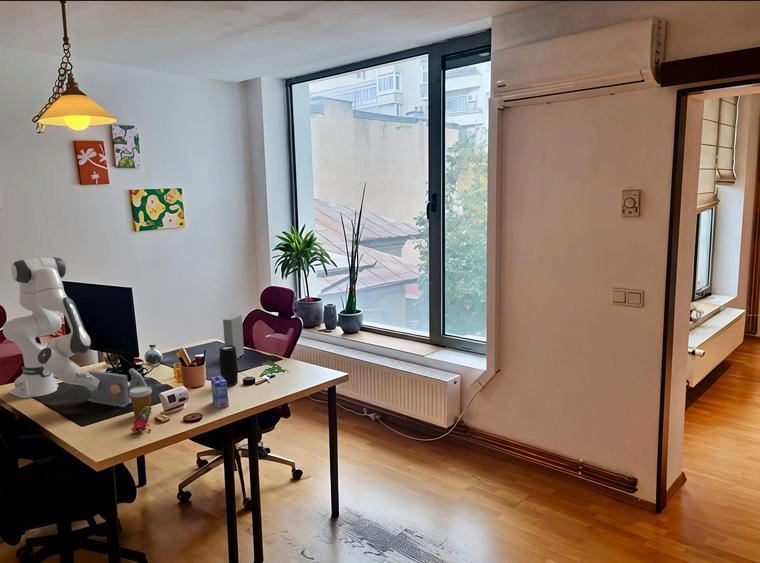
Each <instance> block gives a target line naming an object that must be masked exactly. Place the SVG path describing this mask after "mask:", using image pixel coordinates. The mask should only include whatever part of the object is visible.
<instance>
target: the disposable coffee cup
mask: <svg viewBox="0 0 760 563" xmlns="http://www.w3.org/2000/svg"><path fill="white" fill-rule="evenodd" d="M128 391H129V390H128ZM152 392H153V389H152V387H151V386H148V385H147V386H139V387H135V388H132V389H131V390H130V391H129V397H130V398H131V402H132V404H131V406H132V411H133V414H134V418H135V419H136V418H137V417H138V416H139V414H140V412H141V410H142V409H143V408H144V407H146V406H149V407H151V404H152ZM151 408H152V407H151Z"/></svg>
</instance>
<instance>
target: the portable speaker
mask: <svg viewBox="0 0 760 563" xmlns="http://www.w3.org/2000/svg"><path fill="white" fill-rule="evenodd" d="M218 361H219V374H220V376H222V377H223V378H224V379H225V380H226V381H227V387H230V386H231V385H237V384H239V383H238V382H239V381H238V378H239V377H238V376H239V371H238V366H239V365H238V360H237V354H236V348H235V346H234V345H226V346H225V345H223V346H219V360H218Z"/></svg>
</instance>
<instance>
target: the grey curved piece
mask: <svg viewBox="0 0 760 563" xmlns="http://www.w3.org/2000/svg"><path fill="white" fill-rule="evenodd" d="M128 373H129V375H130V377H131V378H130V380H129V382H130V386H129V387H128V391H130V390H131V389H132V388H135V387H139V386H148V384H147V383H146V381H145V379H144V377H143V376H142V374H140V372H138V371H137V370H136V369H134V368H129V370H128Z"/></svg>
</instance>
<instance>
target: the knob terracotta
mask: <svg viewBox="0 0 760 563" xmlns="http://www.w3.org/2000/svg"><path fill="white" fill-rule="evenodd" d="M129 386H130V381H128V388H129ZM110 392H111V394H113V395H116V394H119V393H120V392H121V385H119V384H114V385H112V386H110Z"/></svg>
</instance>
